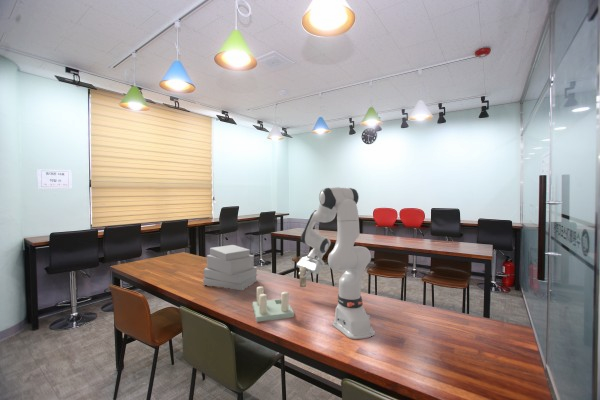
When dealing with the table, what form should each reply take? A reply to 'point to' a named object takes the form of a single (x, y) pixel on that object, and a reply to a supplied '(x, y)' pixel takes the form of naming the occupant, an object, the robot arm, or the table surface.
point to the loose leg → (302, 278)
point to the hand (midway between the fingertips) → (302, 275)
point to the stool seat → (271, 307)
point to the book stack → (230, 268)
